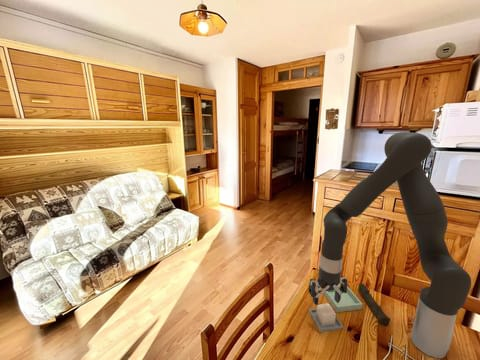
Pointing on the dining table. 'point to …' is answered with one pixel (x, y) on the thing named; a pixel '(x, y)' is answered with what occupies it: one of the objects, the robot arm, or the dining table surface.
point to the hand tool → (373, 305)
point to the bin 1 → (325, 328)
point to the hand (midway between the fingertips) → (326, 302)
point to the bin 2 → (344, 301)
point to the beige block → (325, 314)
